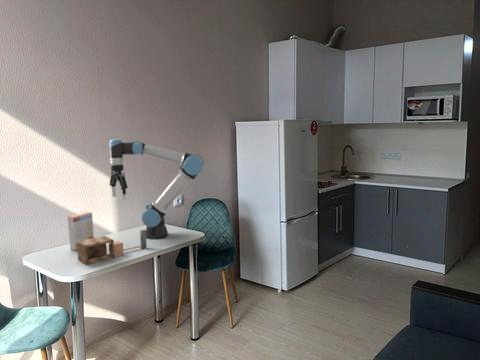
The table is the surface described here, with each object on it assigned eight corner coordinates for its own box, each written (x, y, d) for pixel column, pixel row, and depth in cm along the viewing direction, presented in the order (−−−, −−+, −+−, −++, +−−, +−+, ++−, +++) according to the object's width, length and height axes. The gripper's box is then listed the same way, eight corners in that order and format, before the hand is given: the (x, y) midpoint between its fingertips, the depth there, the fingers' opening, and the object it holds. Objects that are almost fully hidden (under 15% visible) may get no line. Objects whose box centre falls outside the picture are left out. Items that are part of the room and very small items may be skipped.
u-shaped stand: (143, 246, 258) (143, 229, 257) (148, 248, 254) (147, 230, 252) (109, 254, 244) (108, 236, 242) (113, 256, 239) (112, 238, 238)
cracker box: (88, 243, 267) (86, 211, 264) (94, 244, 264) (92, 212, 261) (69, 249, 255) (66, 215, 252) (76, 251, 252) (73, 216, 249)
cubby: (106, 253, 245) (104, 235, 244) (114, 258, 237) (113, 239, 235) (78, 260, 235) (76, 241, 233) (86, 264, 226) (84, 245, 225)
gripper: (102, 163, 268) (104, 196, 271) (120, 166, 249) (122, 201, 252) (114, 162, 273) (115, 195, 276) (131, 165, 254) (133, 199, 257)
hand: (119, 198), depth 264 cm, fingers open, 13 cm apart
